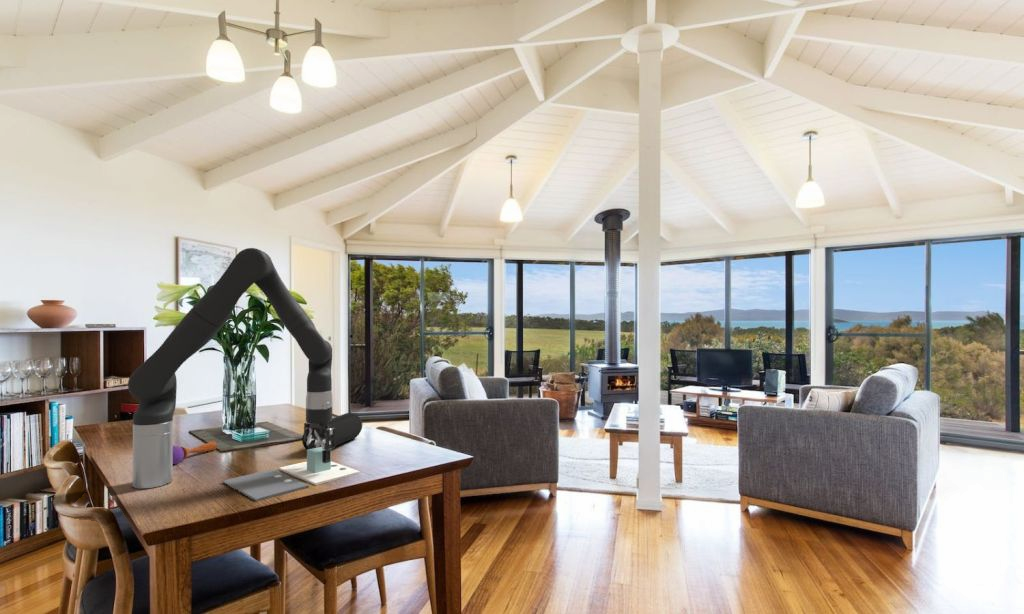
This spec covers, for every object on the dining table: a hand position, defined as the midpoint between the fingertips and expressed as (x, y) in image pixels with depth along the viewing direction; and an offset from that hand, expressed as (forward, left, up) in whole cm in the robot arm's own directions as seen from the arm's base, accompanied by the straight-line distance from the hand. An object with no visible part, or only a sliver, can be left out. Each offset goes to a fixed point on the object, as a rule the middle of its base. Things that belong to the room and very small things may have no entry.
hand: (319, 459), depth 155 cm
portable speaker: (-24, +19, -4) cm, 31 cm away
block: (0, 0, -3) cm, 3 cm away
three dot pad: (0, 0, -4) cm, 4 cm away
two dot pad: (0, -16, -4) cm, 16 cm away
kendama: (-46, -20, -4) cm, 50 cm away
